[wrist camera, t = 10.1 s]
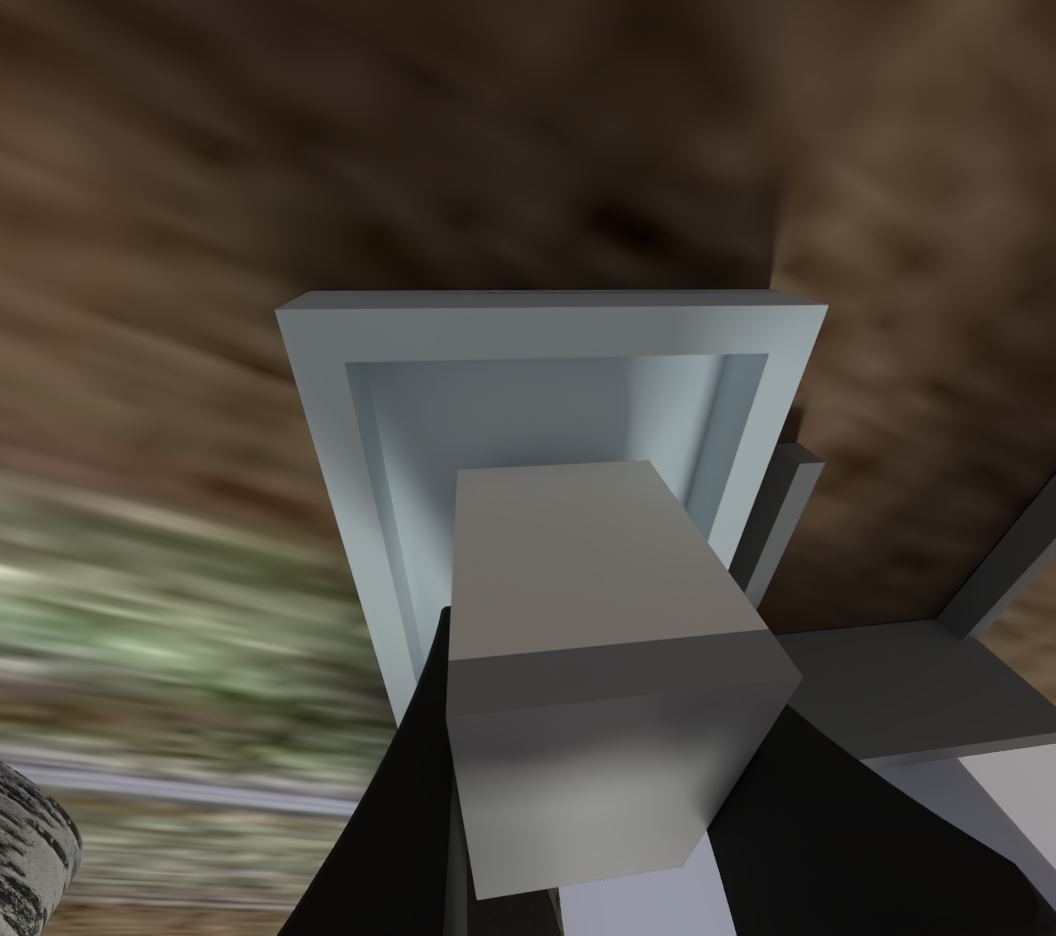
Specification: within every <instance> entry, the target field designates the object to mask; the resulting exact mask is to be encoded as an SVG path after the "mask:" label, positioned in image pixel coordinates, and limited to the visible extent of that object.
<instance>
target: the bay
mask: <svg viewBox="0 0 1056 936" xmlns="http://www.w3.org/2000/svg"><path fill="white" fill-rule="evenodd" d="M824 464H825V462H824V461H823V460H821V459H820V458H818V457H817V456H816V455H814V454H813V453H811V452H810V451H809V450H807V449H806V448H804V447H803V446H802V445H800V444H799V443H782V444H776V446H775V448H774V451H773V453H772V456H771V459H770V461H769V464H768V467H767V469H766V472H765V475H764V477H763V480H762V482H761V485H760V488H759V490H758V493H757V496H756V498H755V501H754V503H753V506H752V509H751V511H750V514H749V517H748V519H747V522H746V525H745V527H744V530H743V532H742V535H741V538H740V540H739V543H738V546H737V548H736V551H735V553H734V556H733V559H732V561H731V564H730V567H729V569H728V572H729V573H730V575H731V576H732V577H733V579H734V580H735V582H736V583H737V584H738V586H739V587H740V589H741V590H742V591H743V593H744V594H745V596H746V597H747V599H748V600H749V601H750V603H751V604H752V606H753V607H754V608H755V610H756V611H757V608H758V606H759V604H760V602H761V600H762V598H763V596H764V593H765V591H766V589H767V587H768V585H769V583H770V580H771V578H772V576H773V574H774V572H775V570H776V568H777V565H778V563H779V561H780V559H781V557H782V555H783V552H784V550H785V548H786V546H787V544H788V542H789V540H790V537H791V535H792V533H793V531H794V529H795V527H796V524H797V522H798V520H799V518H800V516H801V514H802V512H803V509H804V507H805V505H806V503H807V501H808V499H809V496H810V494H811V492H812V490H813V488H814V486H815V484H816V481H817V479H818V477H819V475H820V473H821V471H822V468H823V466H824ZM1055 556H1056V474H1055V475H1054V476H1053V478H1052V479H1051V480H1050V481H1049V482H1048V484H1047V485H1046V486H1045V487H1044V489H1043V490H1042V491H1041V492H1040V493H1039V495H1038V496H1037V497H1036V498H1035V499H1034V501H1033V502H1032V503H1031V504H1030V506H1029V507H1028V508H1027V509H1026V510H1025V512H1024V513H1023V514H1022V515H1021V516H1020V518H1019V519H1018V520H1017V521H1016V523H1015V524H1014V525H1013V526H1012V527H1011V529H1010V530H1009V531H1008V532H1007V533H1006V535H1005V536H1004V537H1003V538H1002V540H1001V541H1000V542H999V543H998V544H997V546H996V547H995V548H994V549H993V550H992V552H991V553H990V554H989V555H988V556H987V558H986V559H985V560H984V561H983V563H982V564H981V565H980V566H979V567H978V569H977V570H976V571H975V572H974V573H973V575H972V576H971V577H970V578H969V580H968V581H967V582H966V583H965V584H964V586H963V587H962V588H961V589H960V590H959V592H958V593H957V594H956V595H955V597H954V598H953V599H952V600H951V601H950V603H949V604H948V605H947V606H946V607H945V609H944V610H943V611H942V612H941V614H940V615H939V616H938V617H937V618H936V619H930V620H920V621H911V622H901V623H891V624H881V625H871V626H861V627H851V628H841V629H832V630H822V631H812V632H802V633H792V634H782V635H774V637H775V638H776V639H777V641H778V642H779V644H780V645H781V646H782V648H783V649H784V651H785V652H786V653H787V655H788V656H789V658H790V659H791V660H792V662H793V663H794V665H795V666H796V667H797V669H798V670H799V672H800V673H801V675H802V676H803V678H802V680H801V682H800V683H799V685H798V686H797V688H796V689H795V691H794V693H793V694H792V696H791V697H790V699H789V700H788V702H787V704H788V705H789V706H791V707H792V708H793V709H794V710H795V711H796V712H798V713H799V714H800V715H801V716H802V717H804V718H805V719H806V720H807V721H808V722H810V723H811V724H812V725H813V726H815V727H816V728H817V729H818V730H820V731H821V732H822V733H823V734H825V735H826V736H827V737H828V738H830V739H831V740H832V741H834V742H835V743H836V744H837V745H839V746H840V747H842V748H843V749H844V750H846V751H847V752H848V753H850V754H851V755H852V756H854V757H855V758H857V759H858V760H859V761H861V762H862V763H863V764H865V765H866V766H867V767H869V768H870V769H872V770H873V769H880V768H887V767H894V766H901V765H908V764H915V763H922V762H929V761H936V760H943V759H950V758H957V757H964V756H971V755H978V754H985V753H992V752H998V751H1006V750H1013V749H1020V748H1027V747H1033V746H1041V745H1047V744H1055V743H1056V706H1054V705H1053V704H1052V703H1051V702H1050V701H1049V700H1047V699H1046V698H1045V697H1044V696H1043V695H1042V694H1040V693H1039V692H1038V691H1037V690H1036V689H1034V688H1033V687H1032V686H1031V685H1030V684H1029V683H1027V682H1026V681H1025V680H1024V679H1023V678H1022V677H1020V676H1019V675H1018V674H1017V673H1016V672H1015V671H1013V670H1012V669H1011V668H1010V667H1009V666H1007V665H1006V664H1005V663H1004V662H1003V661H1002V660H1000V659H999V658H998V657H997V656H996V655H995V654H993V653H992V652H991V651H990V650H989V649H988V648H986V647H985V646H984V645H983V644H982V643H980V642H979V641H978V640H977V639H978V638H979V637H980V636H981V635H982V634H983V633H984V632H985V631H986V630H987V629H988V627H989V626H990V625H991V624H992V623H993V622H994V621H995V620H996V619H997V618H998V617H999V616H1000V615H1001V614H1002V613H1003V612H1004V610H1005V609H1006V608H1007V607H1008V606H1009V605H1010V604H1011V603H1012V602H1013V601H1014V600H1015V599H1016V598H1017V597H1018V596H1019V595H1020V594H1021V592H1022V591H1023V590H1024V589H1025V588H1026V587H1027V586H1028V585H1029V584H1030V583H1031V582H1032V581H1033V580H1034V579H1035V578H1036V577H1037V575H1038V574H1039V573H1040V572H1041V571H1042V570H1043V569H1044V568H1045V567H1046V566H1047V565H1048V564H1049V563H1050V562H1051V561H1052V560H1053V559H1054V557H1055Z"/></svg>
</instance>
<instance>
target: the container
mask: <svg viewBox="0 0 1056 936" xmlns="http://www.w3.org/2000/svg"><path fill="white" fill-rule="evenodd" d="M467 936H564V931H563V922H562V915H561V907H560V897H559V889H558V887H555V888H549V889H543V890H537V891H531V892H524V893H518V894H512V895H506V896H500V897H494V898H487V899H481V900H477V898H476V892H475V886H474V880H473V874H472V868H471V863H470V857H469V851H468V845H467Z"/></svg>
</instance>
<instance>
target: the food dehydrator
mask: <svg viewBox="0 0 1056 936" xmlns="http://www.w3.org/2000/svg"><path fill="white" fill-rule="evenodd" d="M82 856H83V845H82V840H81V837H80V834H79V831H78V829H77V827H76V826H75V824H74V822H73V821H72V819H71V818H70V817H69V815H68V814H67V813H66V812H65V810H64V809H63V808H62V807H61V806H60V805H59V804H58V803H57V802H56V801H55V800H54V799H53V798H52V797H51V796H49V795H48V794H47V793H46V792H45V791H43V790H42V789H41V788H40V787H38V786H37V785H36V784H34V783H33V782H32V781H30V780H29V779H27V778H26V777H24V776H23V775H21V774H20V773H18V772H17V771H15V770H14V769H12V768H11V767H9V766H7V765H6V764H4V763H2V762H1V761H0V936H39V935H40V933H41V932H42V930H43V928H44V927H45V925H46V923H47V922H48V920H49V918H50V917H51V915H52V913H53V911H54V910H55V908H56V906H57V905H58V903H59V901H60V900H61V898H62V896H63V894H64V893H65V891H66V889H67V888H68V886H69V884H70V883H71V881H72V879H73V877H74V876H75V874H76V872H77V871H78V869H79V867H80V864H81V861H82Z"/></svg>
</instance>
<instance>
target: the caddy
mask: <svg viewBox="0 0 1056 936" xmlns="http://www.w3.org/2000/svg"><path fill="white" fill-rule="evenodd" d="M802 678H803V676H802V675H801V673H800V672H799V670H798V669H797V667H796V666H795V665H794V663H793V662H792V660H791V659H790V658H789V656H788V655H787V653H786V652H785V651H784V649H783V648H782V646H781V645H780V644H779V642H778V641H777V639H776V638H775V637H774V635H773V634H772V632H771V631H770V629H769V628H768V627H767V625H766V624H765V622H764V621H763V620H762V618H761V617H760V615H759V614H758V613H757V611H756V610H755V608H754V607H753V606H752V604H751V603H750V601H749V600H748V599H747V597H746V596H745V594H744V593H743V591H742V590H741V589H740V587H739V586H738V584H737V583H736V582H735V580H734V579H733V577H732V576H731V575H730V573H729V572H728V570H727V569H726V568H725V566H724V565H723V563H722V562H721V561H720V559H719V558H718V556H717V555H716V553H715V552H714V551H713V549H712V548H711V546H710V545H709V544H708V542H707V541H706V539H705V538H704V537H703V535H702V534H701V532H700V531H699V530H698V528H697V527H696V525H695V524H694V523H693V521H692V520H691V518H690V517H689V515H688V514H687V513H686V511H685V510H684V508H683V507H682V506H681V504H680V503H679V501H678V500H677V499H676V497H675V496H674V494H673V493H672V492H671V490H670V489H669V487H668V486H667V485H666V483H665V482H664V480H663V479H662V477H661V476H660V475H659V473H658V472H657V470H656V469H655V468H654V466H653V465H652V463H651V462H650V461H649V460H643V461H623V462H603V463H583V464H563V465H543V466H523V467H502V468H482V469H462V470H457V488H456V509H455V531H454V552H453V574H452V595H451V617H450V638H449V660H448V681H447V703H446V722H447V728H448V734H449V740H450V745H451V751H452V757H453V763H454V769H455V775H456V781H457V786H458V792H459V798H460V804H461V810H462V816H463V822H464V827H465V833H466V839H467V845H468V851H469V857H470V863H471V868H472V874H473V880H474V886H475V892H476V898H477V900H481V899H487V898H494V897H500V896H506V895H512V894H518V893H524V892H531V891H537V890H543V889H549V888H555V887H561V886H568V885H574V884H580V883H586V882H591V881H598V880H604V879H610V878H617V877H623V876H629V875H635V874H641V873H647V872H654V871H660V870H666V869H672V868H678V867H683V866H684V864H685V862H686V861H687V859H688V858H689V856H690V855H691V853H692V852H693V850H694V848H695V847H696V845H697V844H698V842H699V840H700V839H701V837H702V836H703V834H704V833H705V831H706V829H707V828H708V826H709V825H710V823H711V822H712V820H713V818H714V817H715V815H716V814H717V812H718V811H719V809H720V807H721V806H722V804H723V803H724V801H725V800H726V798H727V796H728V795H729V793H730V792H731V790H732V789H733V787H734V785H735V784H736V782H737V781H738V779H739V778H740V776H741V774H742V773H743V771H744V770H745V768H746V767H747V765H748V763H749V762H750V760H751V759H752V757H753V756H754V754H755V752H756V751H757V749H758V748H759V746H760V745H761V743H762V741H763V740H764V738H765V737H766V735H767V734H768V732H769V730H770V729H771V727H772V726H773V724H774V722H775V721H776V719H777V718H778V716H779V715H780V713H781V711H782V710H783V708H784V707H785V705H786V704H787V702H788V700H789V699H790V697H791V696H792V694H793V693H794V691H795V689H796V688H797V686H798V685H799V683H800V682H801V680H802Z"/></svg>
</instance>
